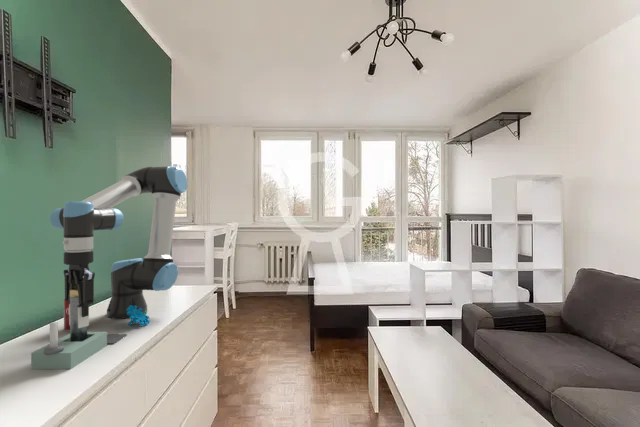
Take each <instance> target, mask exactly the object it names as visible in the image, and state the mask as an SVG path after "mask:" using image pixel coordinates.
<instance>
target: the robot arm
mask: <svg viewBox="0 0 640 427" xmlns="http://www.w3.org/2000/svg"><path fill="white" fill-rule="evenodd" d="M187 189H188V178H187V176H186V174H185V172H184V170H183V169H182V168H180V167H179V166H171V165H168V166H146V167H143V168H142V167H141V168H139V169H136V170H134V171H132V172H129V173H128V174H125V175H124V176H122V177H121V178H120V180H118V181H117V182H115V183H114V184H112V185H110V186H108V187H106V188H104V189H102V190H99V191H98V192H96V193H95V194H92V195H91V196H89V197H87V198H84V199H83V200H81V201H78V200H77V201H76V200H74V201H66V202H65V203H64V204H63V207H59V208H58V207H57V208H56V209H54V210H52V212H51V214H50V216H49V221H50V224H51V225H52V226H53V227H54V228H55V229H57V230H63V241H62V242H61V243H62V245H63V250H64V251H65V252H64V253H63V264H64V265H67V266H68V269H64V270H63V276H64V299H65V301H68V304H69V325H70V290H71V289H76V288H78V296H79V304H80V305H78V306H77V307H78V328H82V327H86V326H87V327H88V326H90V313H89V312H90V307H89V306H91V305H93V304H94V301H95V300H94V299H95V297H94V294H95V292H94V290H95V289H94V288H95V284H94V282H95V276H96V273H95V272H94V271H92V272H91V271H90V266H89V264H91V263H93V262H94V251H93V249H94V231H112V230H117V229H120V228H121V226H122V225H123V224H124V217H125V216H124V214H123V212H122V211H121V209H118V208H114V207H116V206H118V205H119V204H121V203H123V202H124V201H126V200H128V199H129V198H131V197H137V196H140V195H141V194H149V193H150V194H151V196H152V197H153V198H154V204H153V211H152V221H151V229H150V234H149V235H150V236H149V244H148V252H147V254H146V255H145V256H144V257H143V258H141V257H139V258H130V259H124V260H118V261H115V262H113V263H112V265H111V271H110V277H111V278H110V281H111V284H110V285H111V286H110V287H111V289H110V290H111V292H110V293H111V297H110V301H109V303H108V306H107V309H106V317H107V318H109V319H130V318H129V317H130V316H131V315H127V312H128V311H127V310H126V309H127V308H128V307H129V306H130V305H132V306H133V307H134V306H137V308H136V309H137V310H138V309H139V308H142V311H141V312H144V311H145V310H146V311H147V312H148V304H147V301H146V298H145V296H144V293H143V292H144V291H155V292H159V291H167V290H169V289H171V288H172V287H173V285H174V284H175V283H176V281H177V279H178V274H179V268H178V265H177V264H176V263H174V257H172V255H171V250H172V243H173V242H172V241H173V232H174V225H175V224H174V223H175V215H176V206H177V201H179V200H180V199H181V196H182V194H183V193H185V192H186V190H187ZM133 309H134V308H133Z"/></svg>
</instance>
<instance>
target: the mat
mask: <svg viewBox="0 0 640 427" xmlns="http://www.w3.org/2000/svg"><path fill="white" fill-rule="evenodd" d="M127 336H128V334H127V333H107V345H115V344H116V343H118V342H119V341H120V340H123V337H124V338H125V337H127ZM117 341H118V342H117Z"/></svg>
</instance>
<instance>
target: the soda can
mask: <svg viewBox="0 0 640 427" xmlns="http://www.w3.org/2000/svg"><path fill="white" fill-rule="evenodd" d="M63 330H64V331H66V332H70V325H69V304H68V301H65V298H63Z"/></svg>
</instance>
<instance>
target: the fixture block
mask: <svg viewBox="0 0 640 427" xmlns="http://www.w3.org/2000/svg"><path fill="white" fill-rule="evenodd" d="M58 324H59V322H58V321H57V322H56V321H53V322H50V323H49V344H47V345H45V346H43V347H41V348H39V349H36V350H34V351H33V352H31V353H30V359H31V360H30V364H31V365H30V366H31V367H30V369H31V370H71V369H73V368H74V367H77V366H78V365H79V364H81V363H83V362H84V361H85V360H87V359H89V358H90V357H92V356H93V355H95V354H96V353H98V352H100V351H101V350H103V348H105V347H107V346H108V344H107V334H108V332H107V331H87V339H86V340H84V341H82V342H70V333H68V334H66V335H64V336H62V337H60V338H59V332H58V331H59V325H58Z"/></svg>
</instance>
